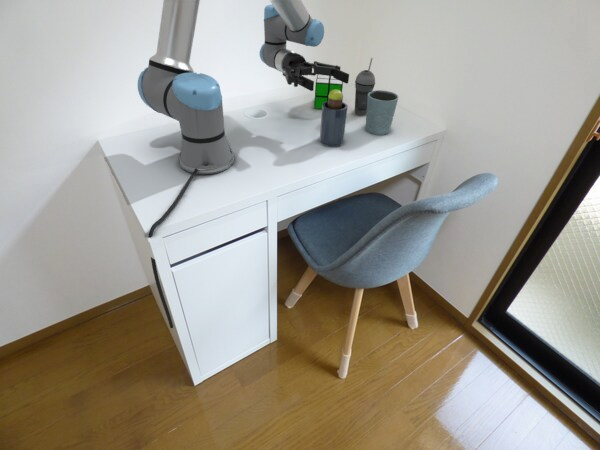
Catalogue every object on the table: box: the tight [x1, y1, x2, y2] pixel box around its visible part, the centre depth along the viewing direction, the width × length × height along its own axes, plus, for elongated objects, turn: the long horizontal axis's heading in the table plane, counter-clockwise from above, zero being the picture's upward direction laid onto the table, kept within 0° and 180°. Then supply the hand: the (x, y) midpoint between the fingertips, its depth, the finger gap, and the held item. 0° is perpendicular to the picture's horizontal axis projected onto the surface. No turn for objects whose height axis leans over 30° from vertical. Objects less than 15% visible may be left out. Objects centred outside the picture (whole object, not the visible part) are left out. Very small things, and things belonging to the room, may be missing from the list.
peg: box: [327, 89, 344, 110], centre depth 113 cm, size 4×4×16 cm
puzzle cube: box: [313, 74, 344, 110], centre depth 140 cm, size 10×10×10 cm
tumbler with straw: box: [354, 57, 376, 117], centre depth 131 cm, size 7×7×20 cm
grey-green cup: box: [364, 89, 399, 136], centre depth 124 cm, size 10×10×12 cm
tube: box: [319, 101, 349, 148], centre depth 115 cm, size 8×8×12 cm
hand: (330, 82), depth 109 cm, fingers open, 13 cm apart
